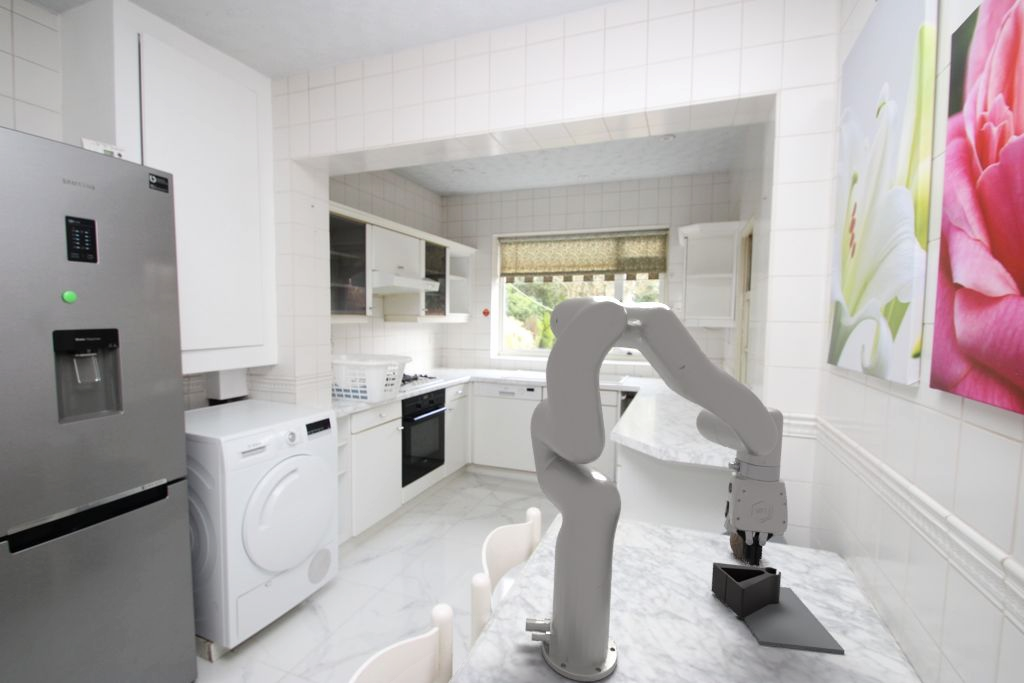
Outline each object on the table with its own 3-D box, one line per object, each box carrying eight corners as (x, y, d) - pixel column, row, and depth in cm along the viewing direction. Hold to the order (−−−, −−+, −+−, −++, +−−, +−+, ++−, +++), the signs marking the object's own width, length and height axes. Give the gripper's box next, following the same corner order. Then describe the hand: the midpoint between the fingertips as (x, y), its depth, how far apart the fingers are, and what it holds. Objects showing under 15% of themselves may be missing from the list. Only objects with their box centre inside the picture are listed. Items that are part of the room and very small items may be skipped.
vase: (765, 566, 103) (767, 530, 102) (733, 562, 104) (735, 526, 104) (755, 551, 110) (757, 517, 109) (725, 547, 111) (727, 514, 110)
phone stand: (740, 619, 83) (794, 613, 85) (742, 588, 82) (796, 583, 85) (710, 590, 92) (760, 585, 94) (712, 562, 91) (761, 558, 94)
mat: (759, 644, 77) (759, 641, 77) (721, 583, 95) (721, 581, 95) (844, 653, 76) (844, 650, 76) (789, 590, 93) (789, 587, 93)
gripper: (724, 473, 82) (718, 569, 82) (809, 479, 80) (802, 576, 81) (710, 461, 89) (705, 548, 90) (787, 466, 87) (782, 555, 88)
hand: (751, 561), depth 85 cm, fingers closed
